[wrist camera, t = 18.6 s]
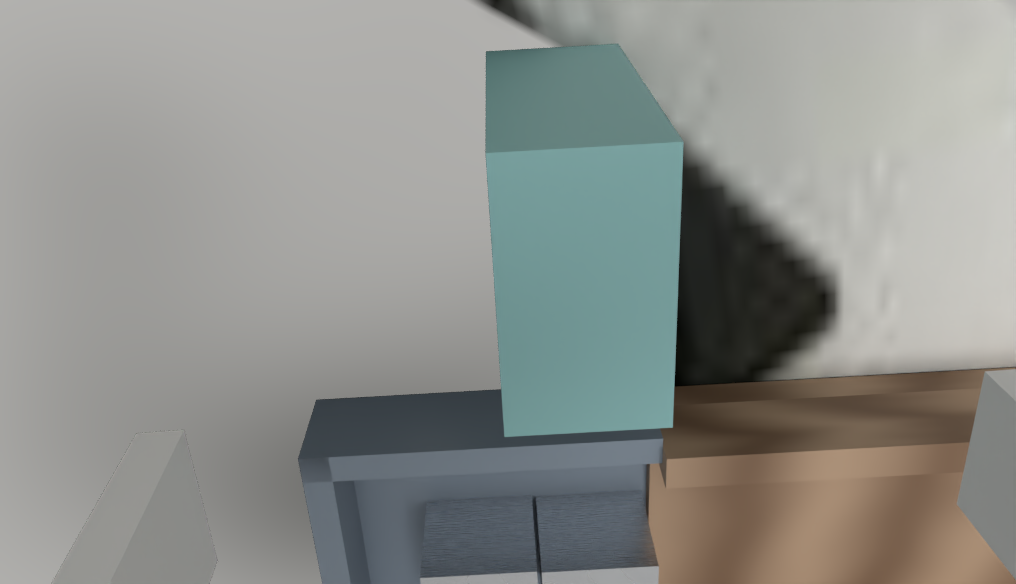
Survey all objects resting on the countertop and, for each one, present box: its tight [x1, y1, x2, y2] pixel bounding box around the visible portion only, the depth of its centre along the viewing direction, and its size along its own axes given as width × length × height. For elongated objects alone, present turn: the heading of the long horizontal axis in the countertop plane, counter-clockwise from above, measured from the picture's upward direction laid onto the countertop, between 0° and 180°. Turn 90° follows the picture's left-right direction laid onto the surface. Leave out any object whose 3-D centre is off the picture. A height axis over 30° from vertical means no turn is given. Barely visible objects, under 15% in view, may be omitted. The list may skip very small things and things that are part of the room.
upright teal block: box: [486, 44, 683, 437], centre depth 24 cm, size 4×7×10 cm, turn 3°
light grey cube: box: [536, 490, 659, 584], centre depth 33 cm, size 4×4×4 cm
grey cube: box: [420, 495, 538, 584], centre depth 33 cm, size 4×4×4 cm
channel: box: [646, 367, 1016, 584], centre depth 33 cm, size 18×12×4 cm
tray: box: [298, 390, 663, 584], centre depth 34 cm, size 12×13×4 cm
